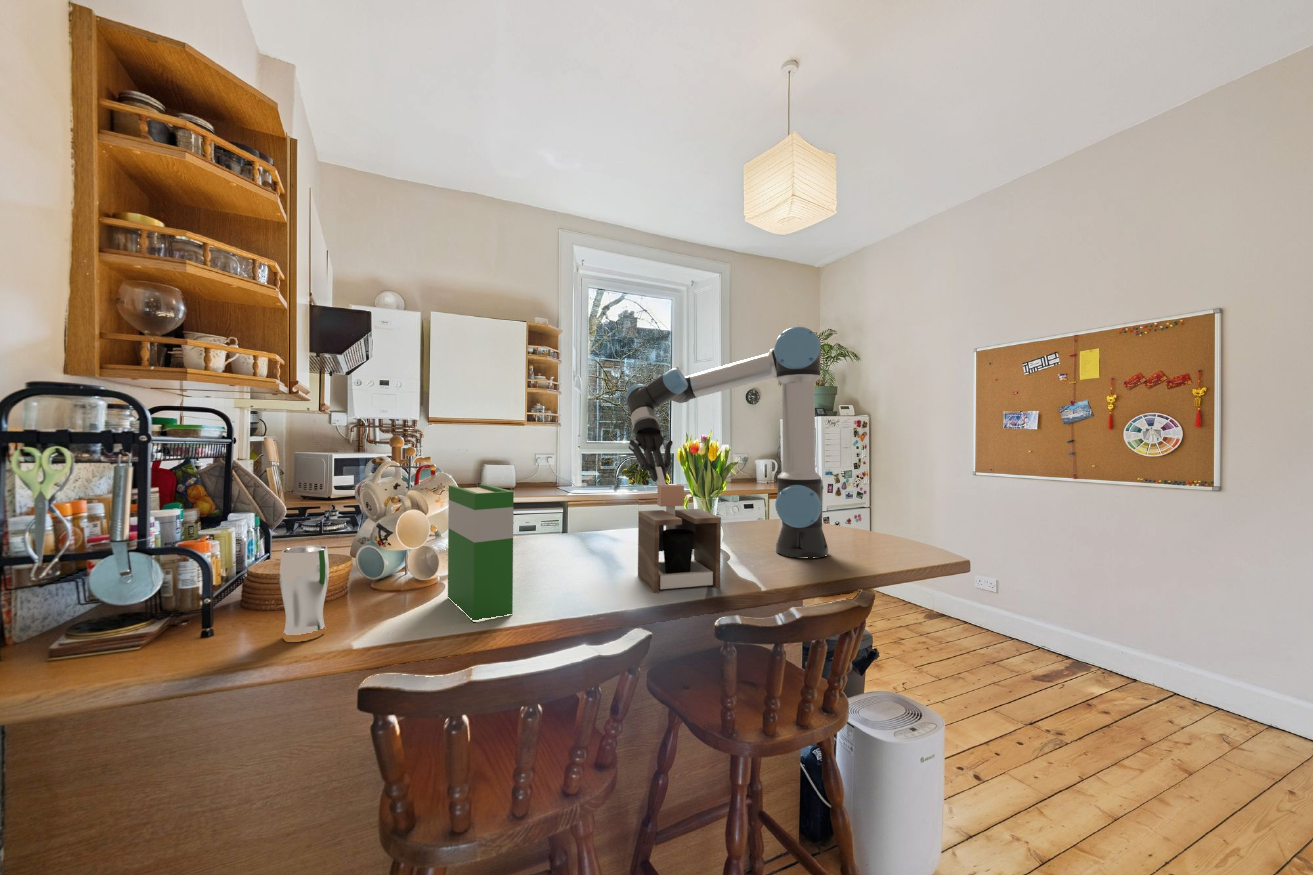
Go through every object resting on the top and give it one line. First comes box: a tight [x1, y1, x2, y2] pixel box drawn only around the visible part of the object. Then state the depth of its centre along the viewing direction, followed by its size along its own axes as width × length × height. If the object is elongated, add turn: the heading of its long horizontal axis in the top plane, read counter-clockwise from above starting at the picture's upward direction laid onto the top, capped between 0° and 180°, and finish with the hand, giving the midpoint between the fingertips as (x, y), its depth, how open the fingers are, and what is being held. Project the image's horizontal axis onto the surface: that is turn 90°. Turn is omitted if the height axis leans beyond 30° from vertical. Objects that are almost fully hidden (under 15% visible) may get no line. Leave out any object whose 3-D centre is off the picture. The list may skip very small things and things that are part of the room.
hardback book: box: [447, 483, 515, 620], centre depth 103 cm, size 18×7×24 cm, turn 37°
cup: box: [662, 529, 694, 574], centre depth 123 cm, size 8×8×12 cm
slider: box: [656, 484, 713, 590], centre depth 123 cm, size 13×14×22 cm
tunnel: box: [637, 508, 722, 594], centre depth 123 cm, size 16×14×16 cm
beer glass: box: [279, 544, 330, 635], centre depth 88 cm, size 7×7×15 cm
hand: (662, 488), depth 134 cm, fingers closed
